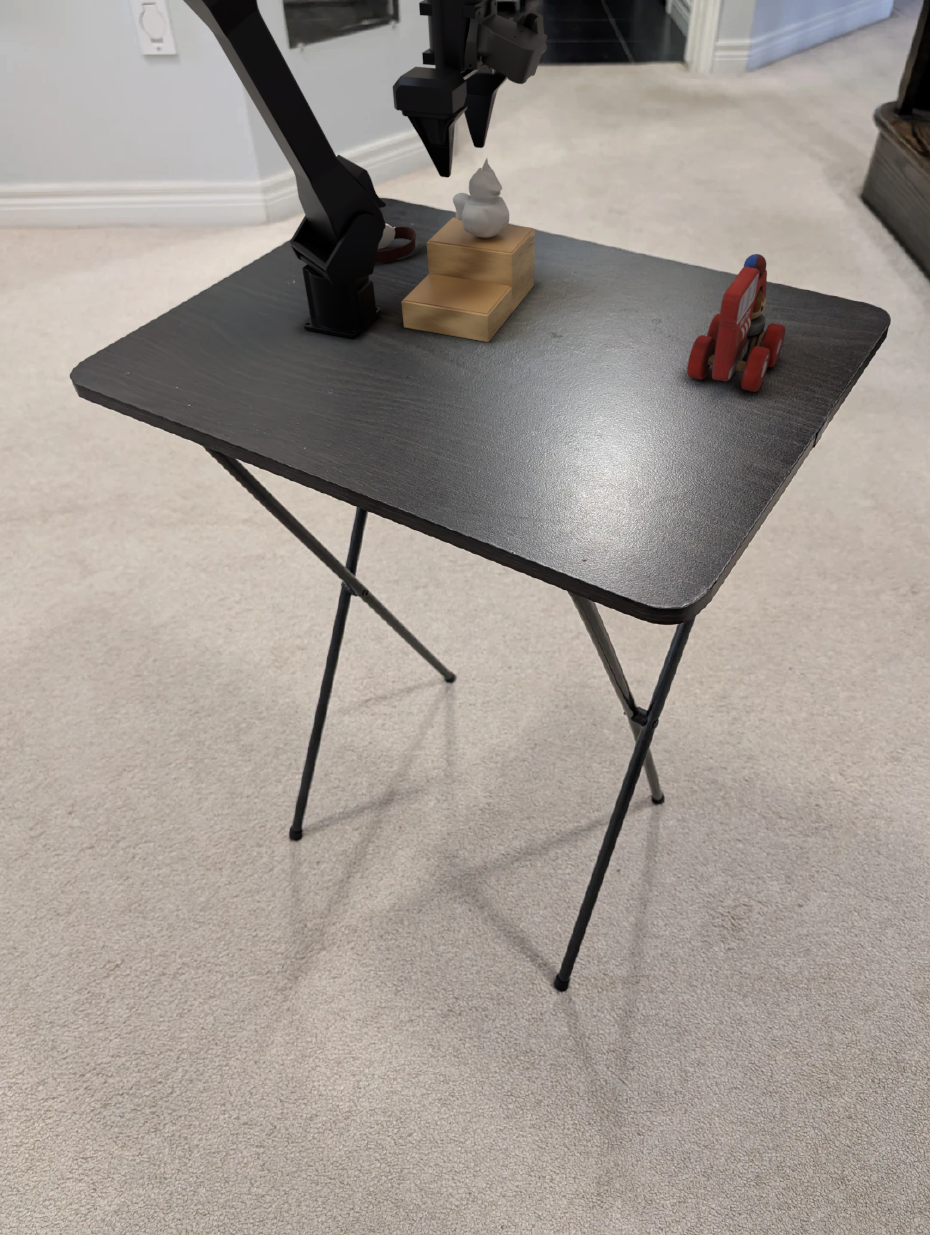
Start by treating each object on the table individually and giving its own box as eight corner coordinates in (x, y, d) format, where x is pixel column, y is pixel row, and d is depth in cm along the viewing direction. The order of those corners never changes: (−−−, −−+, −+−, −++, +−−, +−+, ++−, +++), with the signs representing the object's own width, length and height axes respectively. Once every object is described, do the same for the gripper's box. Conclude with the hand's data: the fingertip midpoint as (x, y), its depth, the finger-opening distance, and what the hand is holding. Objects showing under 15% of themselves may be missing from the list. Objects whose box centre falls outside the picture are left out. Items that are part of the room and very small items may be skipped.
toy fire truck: (785, 348, 91) (810, 246, 83) (749, 408, 83) (772, 302, 76) (719, 334, 93) (737, 234, 86) (678, 391, 86) (693, 287, 78)
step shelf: (403, 327, 97) (397, 267, 92) (455, 273, 106) (452, 216, 101) (488, 342, 94) (487, 281, 89) (534, 285, 103) (535, 227, 98)
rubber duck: (495, 249, 94) (494, 169, 89) (442, 238, 97) (438, 159, 91) (519, 230, 97) (519, 151, 92) (467, 220, 100) (464, 143, 94)
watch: (408, 241, 112) (406, 212, 110) (423, 255, 109) (421, 225, 107) (351, 255, 110) (347, 225, 108) (365, 269, 107) (361, 239, 105)
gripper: (499, 13, 76) (500, 202, 87) (568, -32, 87) (562, 140, 99) (382, 7, 79) (398, 190, 90) (465, -35, 91) (470, 131, 102)
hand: (462, 161), depth 95 cm, fingers open, 9 cm apart
